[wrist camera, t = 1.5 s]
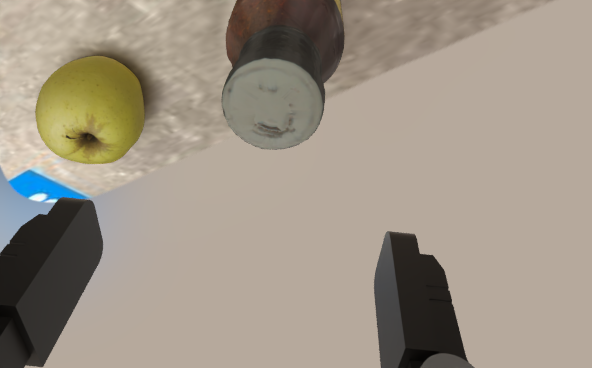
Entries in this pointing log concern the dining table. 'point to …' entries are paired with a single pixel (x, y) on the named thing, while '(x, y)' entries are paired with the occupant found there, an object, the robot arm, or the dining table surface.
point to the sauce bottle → (280, 68)
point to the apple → (91, 110)
